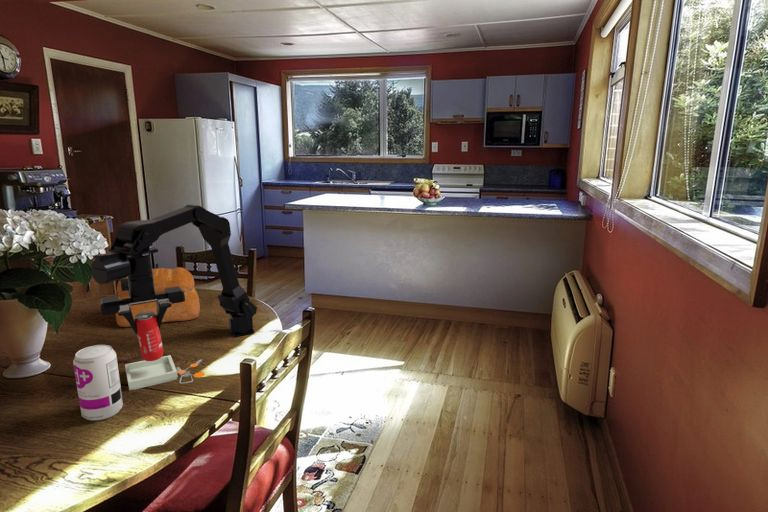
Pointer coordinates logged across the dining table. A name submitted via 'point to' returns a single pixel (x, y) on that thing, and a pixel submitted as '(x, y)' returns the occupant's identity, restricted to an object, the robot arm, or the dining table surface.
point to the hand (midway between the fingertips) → (147, 331)
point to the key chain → (189, 372)
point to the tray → (150, 372)
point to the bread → (162, 281)
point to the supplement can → (98, 382)
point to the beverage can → (149, 336)
